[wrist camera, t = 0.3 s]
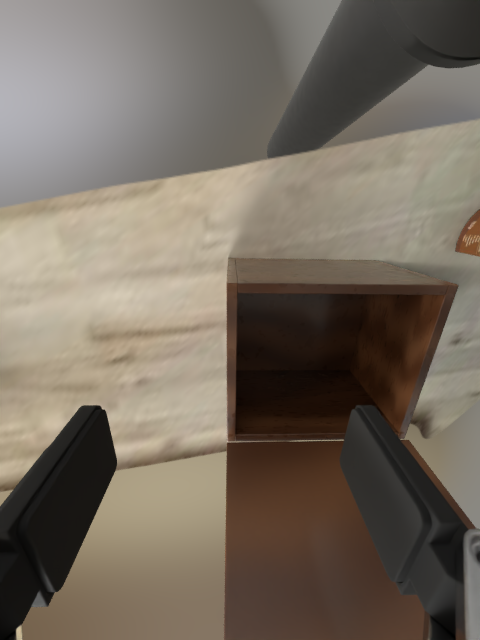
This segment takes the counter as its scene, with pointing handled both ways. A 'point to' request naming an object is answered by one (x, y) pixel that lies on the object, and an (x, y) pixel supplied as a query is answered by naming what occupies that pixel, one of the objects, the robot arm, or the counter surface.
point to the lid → (307, 550)
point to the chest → (327, 344)
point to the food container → (470, 236)
